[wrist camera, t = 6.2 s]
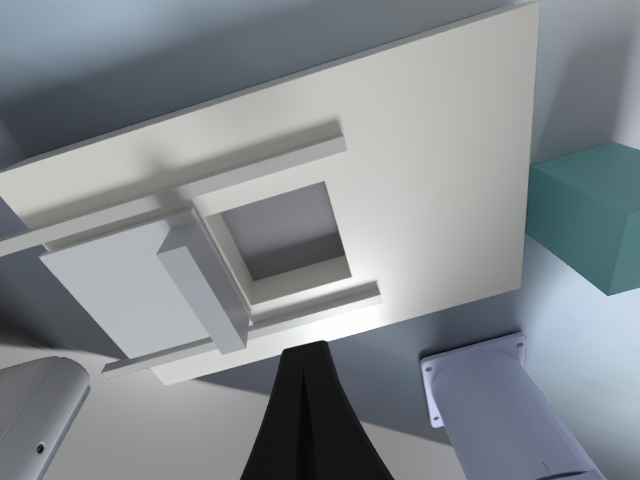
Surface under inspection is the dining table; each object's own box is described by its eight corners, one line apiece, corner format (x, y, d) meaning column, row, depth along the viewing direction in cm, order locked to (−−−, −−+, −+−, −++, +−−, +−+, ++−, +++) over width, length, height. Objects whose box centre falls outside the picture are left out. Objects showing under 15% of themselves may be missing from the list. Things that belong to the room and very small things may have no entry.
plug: (597, 211, 20) (736, 286, 14) (525, 231, 20) (631, 314, 14) (611, 141, 18) (784, 194, 12) (530, 165, 18) (658, 229, 12)
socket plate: (496, 263, 21) (527, 295, 19) (148, 360, 23) (131, 403, 20) (500, 7, 14) (552, -1, 11) (-14, 171, 15) (-75, 198, 13)
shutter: (253, 319, 18) (250, 355, 16) (132, 353, 18) (114, 392, 16) (193, 206, 14) (179, 234, 12) (44, 252, 15) (6, 286, 13)
